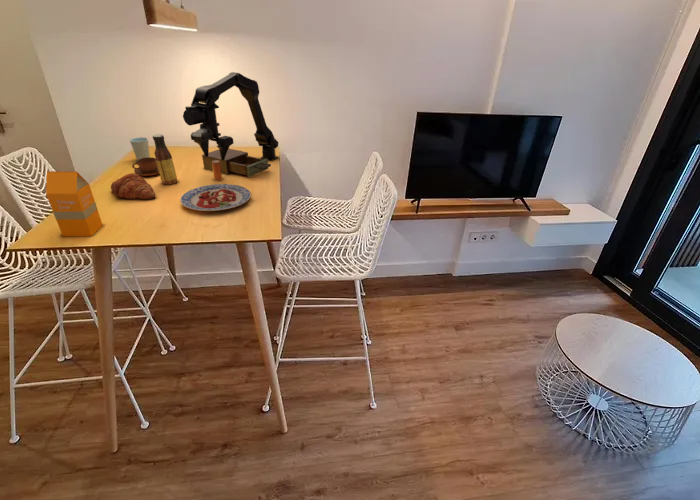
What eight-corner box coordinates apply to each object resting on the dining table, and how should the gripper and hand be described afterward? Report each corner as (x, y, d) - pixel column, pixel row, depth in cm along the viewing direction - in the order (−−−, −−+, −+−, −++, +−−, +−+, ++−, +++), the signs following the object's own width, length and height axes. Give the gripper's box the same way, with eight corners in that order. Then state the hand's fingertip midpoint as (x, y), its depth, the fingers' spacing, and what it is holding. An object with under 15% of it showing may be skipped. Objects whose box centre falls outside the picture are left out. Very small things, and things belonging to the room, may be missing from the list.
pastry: (159, 185, 160) (154, 166, 156) (155, 199, 147) (150, 179, 143) (113, 188, 155) (108, 169, 151) (106, 203, 142) (99, 183, 138)
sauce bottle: (180, 180, 165) (171, 133, 155) (173, 185, 160) (163, 137, 150) (165, 179, 166) (155, 133, 156) (158, 184, 160) (147, 136, 150)
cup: (155, 158, 189) (150, 137, 184) (149, 163, 182) (143, 141, 177) (139, 158, 189) (134, 137, 183) (132, 163, 182) (126, 141, 177)
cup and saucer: (139, 180, 164) (136, 166, 161) (131, 172, 172) (128, 158, 168) (168, 174, 171) (165, 161, 168) (159, 167, 179) (156, 154, 175)
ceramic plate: (179, 193, 153) (178, 186, 152) (244, 185, 162) (244, 179, 161) (183, 220, 133) (181, 212, 132) (257, 210, 142) (256, 202, 141)
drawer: (276, 170, 177) (275, 160, 175) (257, 179, 167) (256, 168, 165) (246, 163, 184) (245, 154, 182) (226, 171, 174) (224, 161, 172)
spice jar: (212, 179, 168) (209, 161, 163) (218, 177, 170) (215, 159, 166) (218, 181, 166) (215, 163, 162) (224, 178, 169) (221, 161, 165)
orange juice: (91, 236, 121) (70, 176, 111) (62, 236, 121) (38, 175, 110) (103, 224, 128) (84, 167, 118) (75, 225, 127) (53, 167, 117)
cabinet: (249, 165, 185) (247, 152, 181) (227, 174, 174) (225, 160, 170) (226, 160, 190) (224, 147, 187) (204, 168, 179) (201, 154, 176)
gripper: (177, 121, 153) (184, 159, 161) (211, 128, 146) (217, 167, 153) (198, 116, 161) (204, 153, 169) (232, 122, 154) (236, 160, 162)
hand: (214, 158), depth 163 cm, fingers open, 9 cm apart
